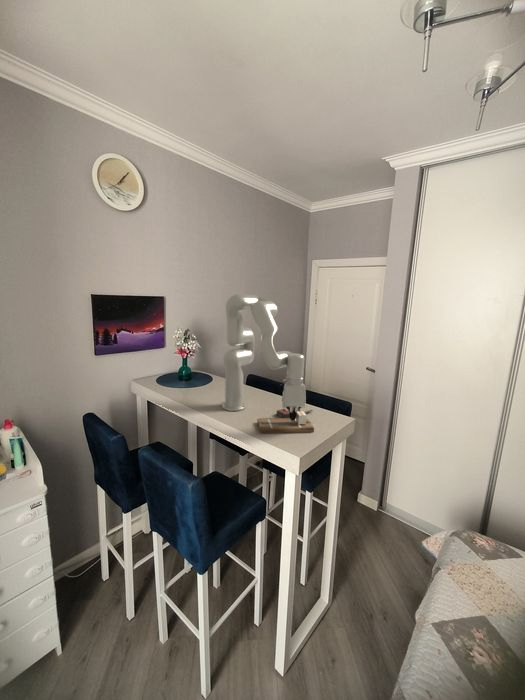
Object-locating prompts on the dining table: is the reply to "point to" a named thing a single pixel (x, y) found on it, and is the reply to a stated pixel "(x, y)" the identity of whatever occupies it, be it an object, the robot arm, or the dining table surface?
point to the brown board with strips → (283, 426)
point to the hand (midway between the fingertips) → (292, 419)
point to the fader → (301, 417)
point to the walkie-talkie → (287, 412)
